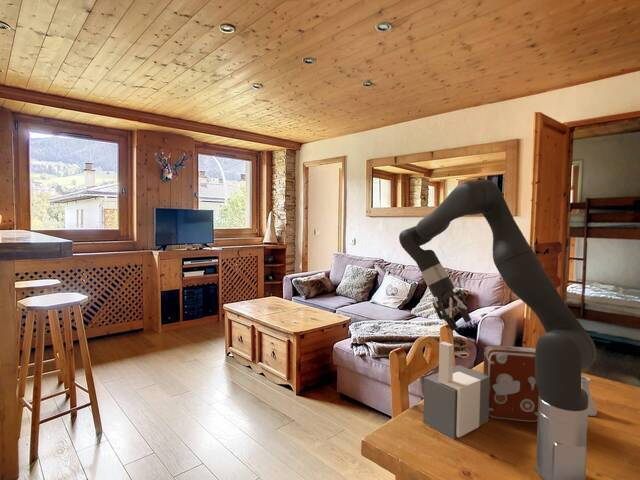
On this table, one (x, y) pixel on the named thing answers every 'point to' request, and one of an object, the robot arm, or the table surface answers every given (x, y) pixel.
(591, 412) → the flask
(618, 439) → the table surface
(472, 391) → the grooved cream block
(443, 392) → the camera housing
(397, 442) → the table surface
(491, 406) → the brown boxy piece
